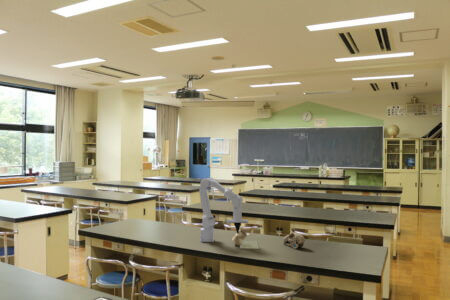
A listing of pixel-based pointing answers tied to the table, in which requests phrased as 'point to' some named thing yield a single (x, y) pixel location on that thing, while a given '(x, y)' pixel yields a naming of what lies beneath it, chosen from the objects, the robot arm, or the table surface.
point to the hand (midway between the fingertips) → (237, 233)
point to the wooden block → (239, 236)
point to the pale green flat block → (249, 245)
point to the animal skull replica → (294, 240)
